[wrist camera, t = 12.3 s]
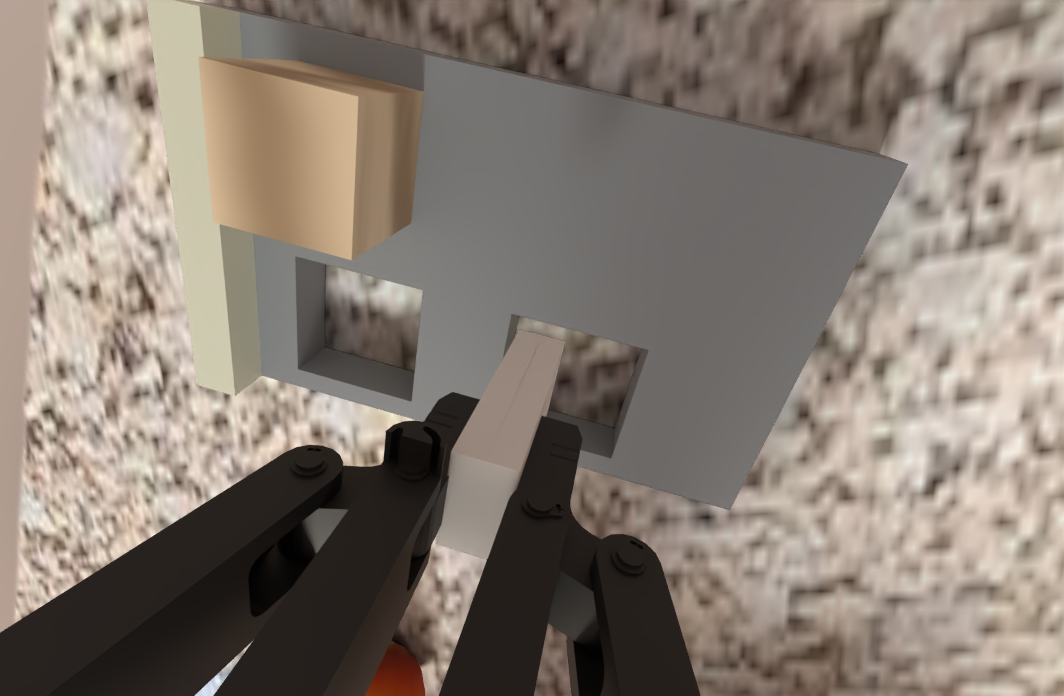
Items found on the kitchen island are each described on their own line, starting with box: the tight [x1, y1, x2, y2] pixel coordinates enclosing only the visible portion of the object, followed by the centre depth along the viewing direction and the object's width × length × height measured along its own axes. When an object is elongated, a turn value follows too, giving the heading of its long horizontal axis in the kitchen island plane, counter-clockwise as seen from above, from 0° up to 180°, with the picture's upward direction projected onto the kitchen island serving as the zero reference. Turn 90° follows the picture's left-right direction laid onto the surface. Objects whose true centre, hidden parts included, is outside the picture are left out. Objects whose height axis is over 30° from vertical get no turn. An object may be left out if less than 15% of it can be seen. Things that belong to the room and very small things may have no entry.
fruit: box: [365, 641, 425, 696], centre depth 38 cm, size 8×8×8 cm
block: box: [198, 57, 424, 260], centre depth 19 cm, size 5×5×5 cm
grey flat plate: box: [146, 0, 908, 510], centre depth 23 cm, size 26×16×4 cm, turn 79°
